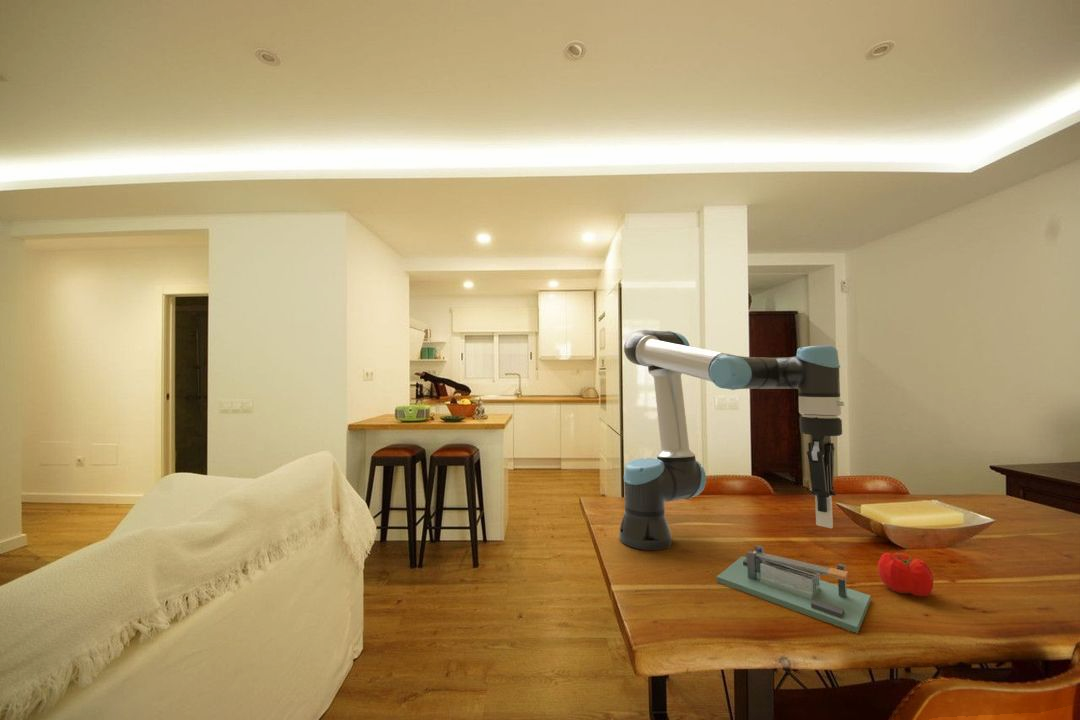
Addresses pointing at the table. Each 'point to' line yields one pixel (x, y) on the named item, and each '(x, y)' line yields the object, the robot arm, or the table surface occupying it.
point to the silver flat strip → (803, 565)
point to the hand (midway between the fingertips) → (824, 525)
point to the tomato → (905, 574)
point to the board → (821, 607)
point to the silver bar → (788, 577)
